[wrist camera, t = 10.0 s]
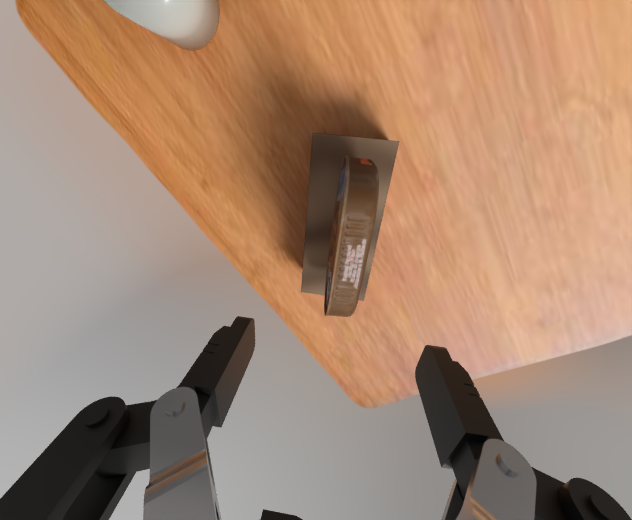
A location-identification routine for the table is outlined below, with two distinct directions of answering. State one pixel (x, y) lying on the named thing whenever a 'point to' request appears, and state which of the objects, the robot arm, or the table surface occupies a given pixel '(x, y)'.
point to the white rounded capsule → (174, 19)
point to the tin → (351, 234)
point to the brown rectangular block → (323, 197)
